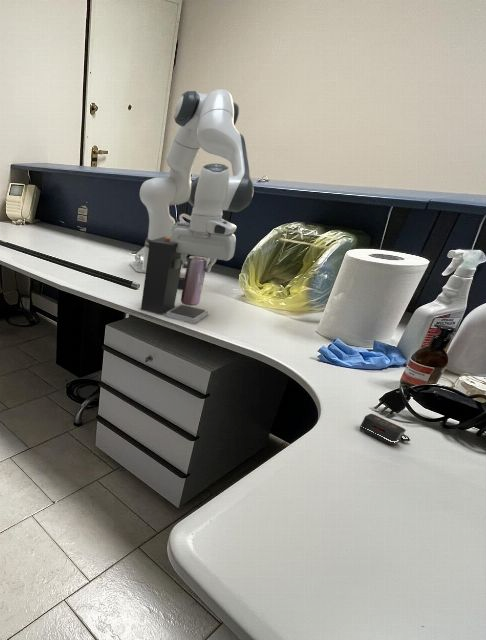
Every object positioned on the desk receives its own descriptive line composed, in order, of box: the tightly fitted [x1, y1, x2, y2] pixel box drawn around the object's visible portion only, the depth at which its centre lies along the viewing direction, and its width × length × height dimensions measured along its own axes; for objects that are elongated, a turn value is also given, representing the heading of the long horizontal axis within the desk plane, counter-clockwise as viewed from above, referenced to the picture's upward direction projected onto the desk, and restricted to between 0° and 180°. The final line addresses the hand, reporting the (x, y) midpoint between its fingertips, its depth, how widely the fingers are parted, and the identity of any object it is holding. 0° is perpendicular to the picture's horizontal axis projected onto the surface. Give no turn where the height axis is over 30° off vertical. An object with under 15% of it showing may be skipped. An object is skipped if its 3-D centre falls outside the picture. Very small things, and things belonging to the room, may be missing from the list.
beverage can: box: [180, 255, 208, 307], centre depth 133 cm, size 6×6×15 cm
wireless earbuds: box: [359, 413, 411, 446], centre depth 80 cm, size 5×7×3 cm, turn 27°
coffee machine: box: [140, 237, 209, 324], centre depth 135 cm, size 20×11×24 cm, turn 49°
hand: (196, 269), depth 131 cm, fingers closed on beverage can, 6 cm apart
